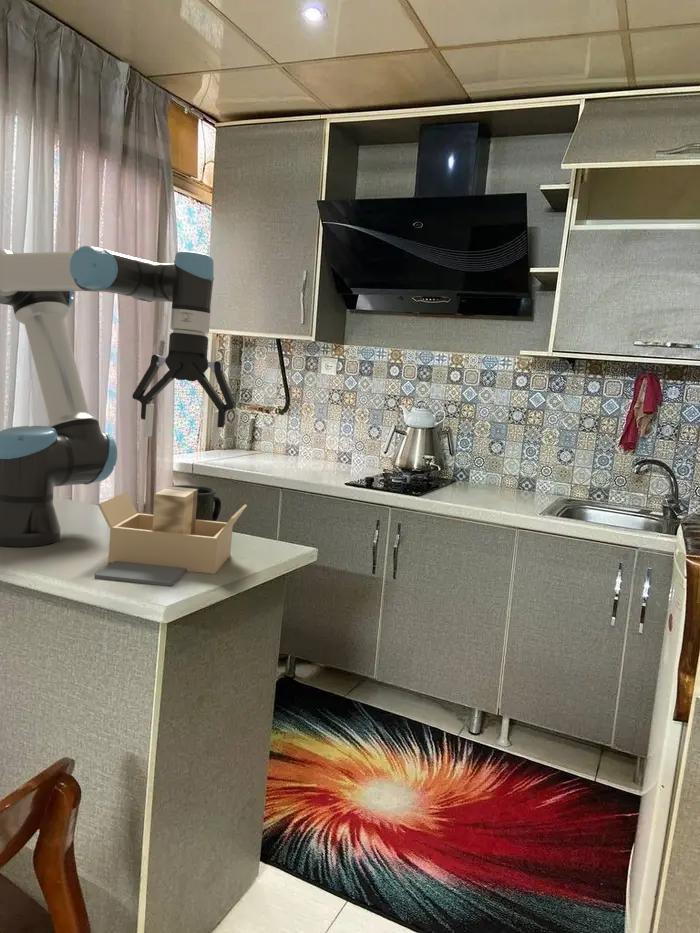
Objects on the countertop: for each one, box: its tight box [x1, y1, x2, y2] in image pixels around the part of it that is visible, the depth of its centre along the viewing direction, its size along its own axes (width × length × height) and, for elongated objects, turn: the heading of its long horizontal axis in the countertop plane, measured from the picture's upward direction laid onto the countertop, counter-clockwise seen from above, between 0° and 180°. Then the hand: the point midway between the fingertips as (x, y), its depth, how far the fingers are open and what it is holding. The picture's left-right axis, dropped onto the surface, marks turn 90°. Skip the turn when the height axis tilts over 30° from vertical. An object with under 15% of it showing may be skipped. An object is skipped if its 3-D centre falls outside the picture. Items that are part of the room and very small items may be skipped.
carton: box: [97, 491, 248, 575], centre depth 145 cm, size 26×15×12 cm, turn 88°
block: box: [152, 485, 198, 535], centre depth 145 cm, size 6×10×14 cm, turn 178°
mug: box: [171, 484, 222, 522], centre depth 162 cm, size 11×15×12 cm
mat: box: [94, 561, 187, 587], centre depth 133 cm, size 14×10×1 cm
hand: (181, 440), depth 143 cm, fingers open, 13 cm apart
